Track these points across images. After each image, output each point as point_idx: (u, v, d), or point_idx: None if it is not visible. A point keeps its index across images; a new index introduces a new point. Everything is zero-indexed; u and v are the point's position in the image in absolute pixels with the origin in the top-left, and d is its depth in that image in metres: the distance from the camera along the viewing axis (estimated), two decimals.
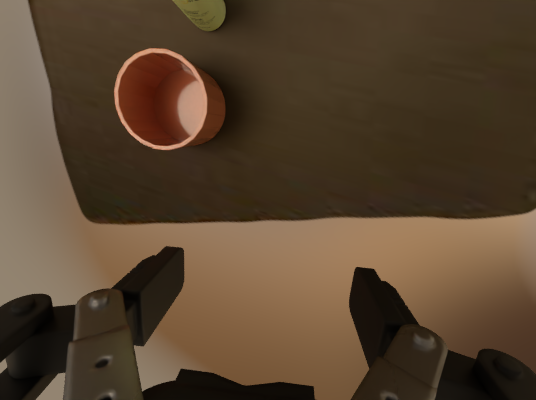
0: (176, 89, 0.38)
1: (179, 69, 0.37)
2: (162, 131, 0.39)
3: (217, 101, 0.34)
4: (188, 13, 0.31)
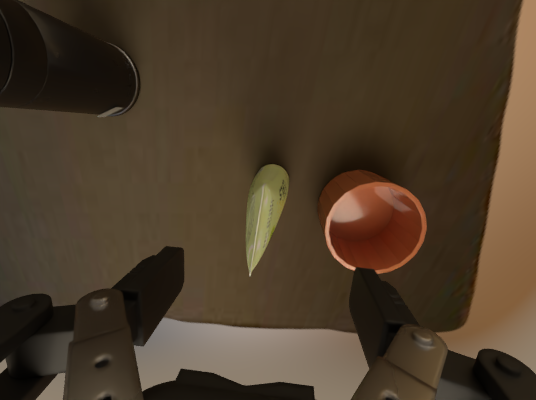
0: (339, 217, 0.38)
1: None
2: (380, 236, 0.37)
3: (365, 175, 0.32)
4: None
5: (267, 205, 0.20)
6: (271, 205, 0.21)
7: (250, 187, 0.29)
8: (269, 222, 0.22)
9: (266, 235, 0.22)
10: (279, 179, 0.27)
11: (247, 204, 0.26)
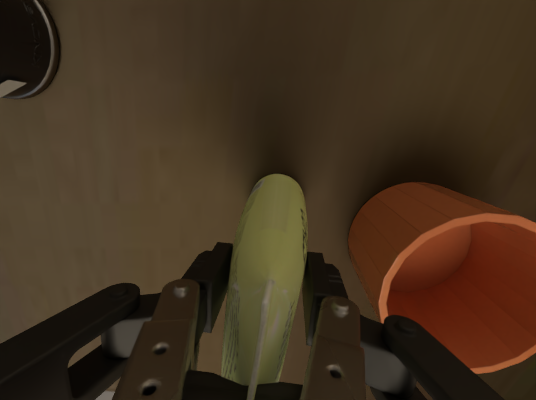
0: None
1: None
2: (450, 286, 0.24)
3: (442, 193, 0.19)
4: None
5: (279, 331, 0.06)
6: (289, 318, 0.07)
7: None
8: (282, 357, 0.08)
9: None
10: (296, 212, 0.13)
11: None
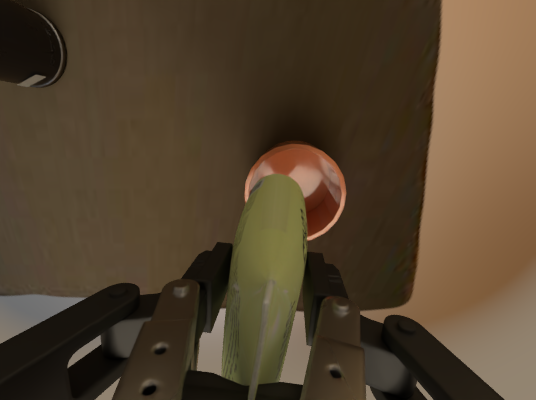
0: None
1: None
2: (317, 208, 0.37)
3: None
4: None
5: (279, 331, 0.06)
6: (289, 318, 0.07)
7: None
8: (282, 357, 0.08)
9: None
10: (296, 212, 0.13)
11: None
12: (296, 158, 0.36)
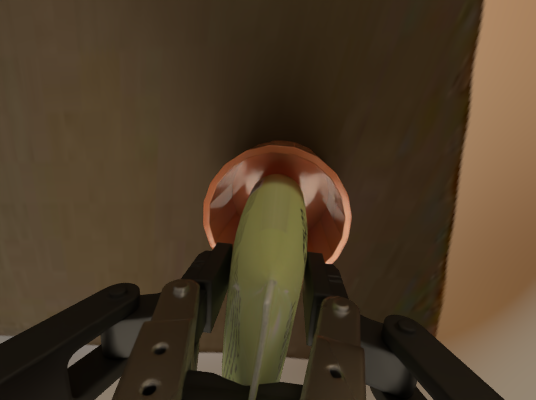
0: None
1: (232, 199, 0.28)
2: (311, 231, 0.27)
3: (274, 142, 0.22)
4: None
5: (280, 332, 0.06)
6: (289, 318, 0.07)
7: None
8: (283, 357, 0.08)
9: None
10: (296, 212, 0.13)
11: None
12: (283, 164, 0.27)
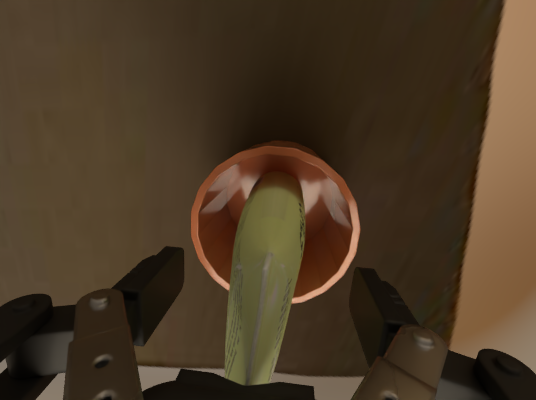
0: None
1: (227, 205, 0.26)
2: (313, 240, 0.25)
3: (272, 142, 0.20)
4: None
5: (277, 303, 0.07)
6: (286, 293, 0.08)
7: (240, 217, 0.16)
8: (280, 331, 0.09)
9: (273, 361, 0.09)
10: (294, 205, 0.14)
11: None
12: (282, 166, 0.24)
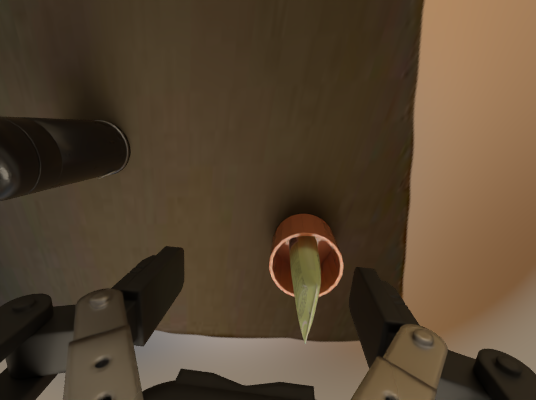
0: None
1: None
2: (322, 265, 0.47)
3: (302, 222, 0.42)
4: None
5: (317, 295, 0.30)
6: (318, 293, 0.30)
7: (293, 262, 0.38)
8: (316, 303, 0.31)
9: (314, 312, 0.31)
10: (316, 258, 0.37)
11: (294, 280, 0.35)
12: None
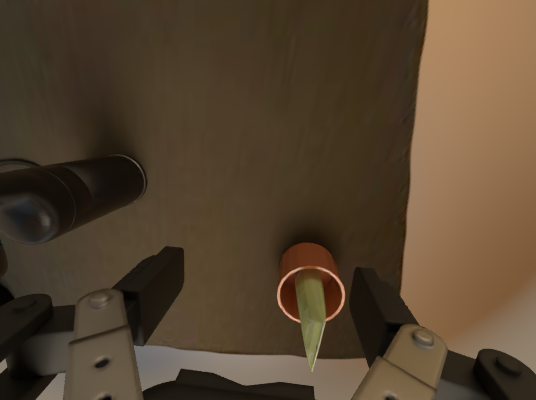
0: None
1: None
2: (324, 290, 0.51)
3: (307, 253, 0.46)
4: None
5: (322, 330, 0.33)
6: None
7: (299, 292, 0.42)
8: None
9: None
10: (321, 291, 0.40)
11: (301, 311, 0.39)
12: None
